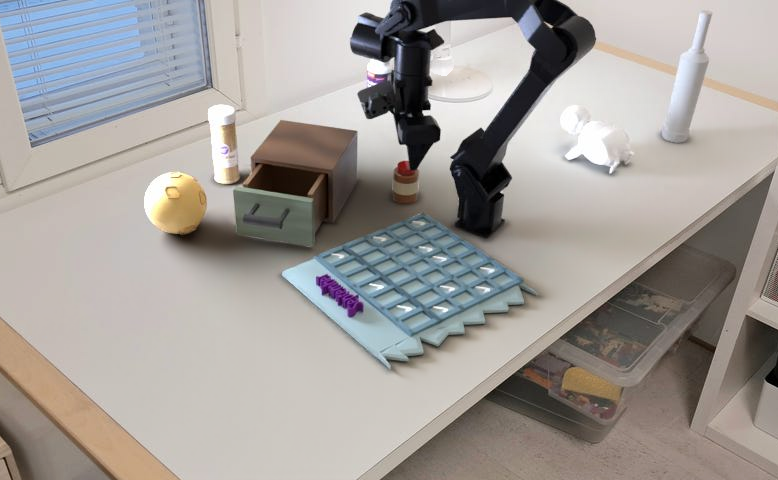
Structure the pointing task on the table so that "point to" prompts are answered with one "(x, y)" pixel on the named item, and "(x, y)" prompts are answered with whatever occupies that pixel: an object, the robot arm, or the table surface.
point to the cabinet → (314, 156)
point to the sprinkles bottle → (224, 143)
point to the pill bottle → (378, 72)
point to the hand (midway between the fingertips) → (407, 156)
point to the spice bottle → (405, 183)
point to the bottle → (687, 85)
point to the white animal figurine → (596, 138)
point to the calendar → (407, 287)
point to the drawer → (281, 204)
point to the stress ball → (175, 203)
